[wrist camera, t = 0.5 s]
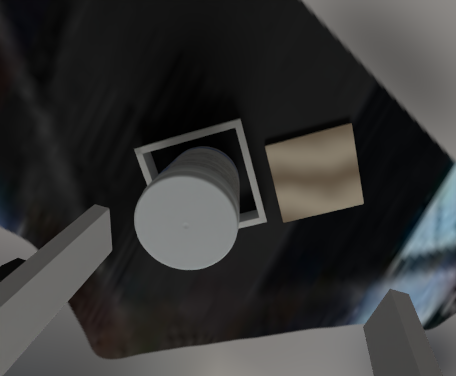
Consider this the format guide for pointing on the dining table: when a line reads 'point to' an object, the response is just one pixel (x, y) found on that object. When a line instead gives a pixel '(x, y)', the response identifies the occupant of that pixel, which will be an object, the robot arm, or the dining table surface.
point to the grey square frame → (147, 159)
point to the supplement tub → (190, 210)
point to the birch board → (315, 173)
